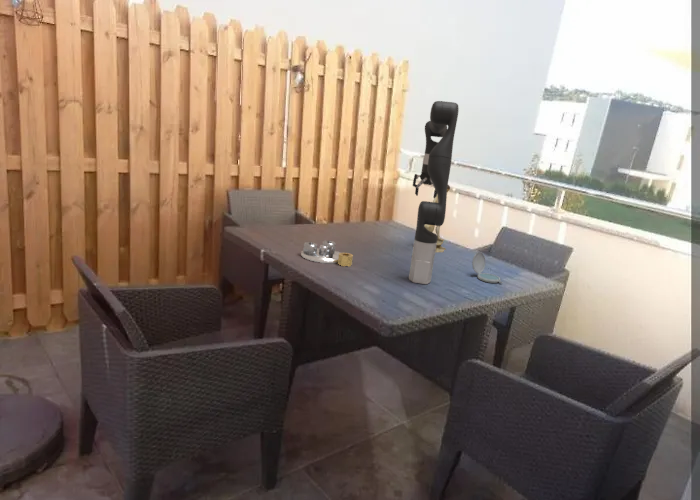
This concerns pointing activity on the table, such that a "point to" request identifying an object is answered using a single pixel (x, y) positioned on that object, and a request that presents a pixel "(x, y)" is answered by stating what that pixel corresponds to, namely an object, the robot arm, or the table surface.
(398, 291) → the table surface
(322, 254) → the carrier
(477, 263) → the pocket watch
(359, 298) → the table surface
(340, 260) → the planet gear
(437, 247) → the statue
